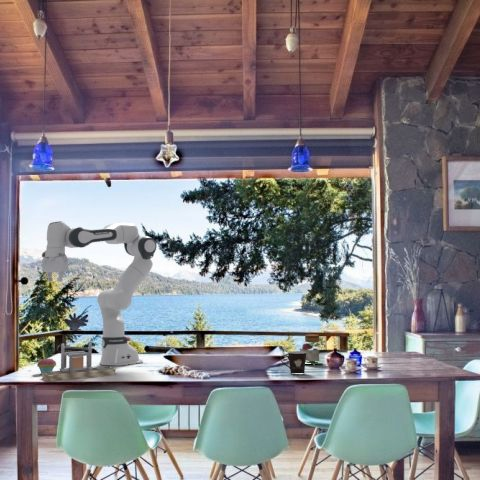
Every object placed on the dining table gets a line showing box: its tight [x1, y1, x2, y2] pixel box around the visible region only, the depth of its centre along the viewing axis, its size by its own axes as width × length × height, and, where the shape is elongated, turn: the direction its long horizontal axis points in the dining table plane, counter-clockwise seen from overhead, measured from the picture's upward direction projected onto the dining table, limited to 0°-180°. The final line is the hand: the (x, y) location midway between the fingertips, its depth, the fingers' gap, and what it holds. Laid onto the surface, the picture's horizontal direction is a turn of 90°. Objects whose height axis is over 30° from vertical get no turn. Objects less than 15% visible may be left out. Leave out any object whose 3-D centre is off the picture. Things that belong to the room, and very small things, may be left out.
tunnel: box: [64, 350, 89, 374], centre depth 277 cm, size 9×10×8 cm
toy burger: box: [299, 333, 323, 365], centre depth 313 cm, size 12×13×15 cm
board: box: [42, 365, 116, 382], centre depth 277 cm, size 31×10×3 cm, turn 123°
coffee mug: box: [279, 350, 307, 374], centre depth 283 cm, size 12×9×10 cm
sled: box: [59, 341, 94, 372], centre depth 277 cm, size 14×5×12 cm, turn 123°
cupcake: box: [36, 348, 57, 375], centre depth 286 cm, size 9×8×12 cm
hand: (54, 281), depth 297 cm, fingers open, 8 cm apart
